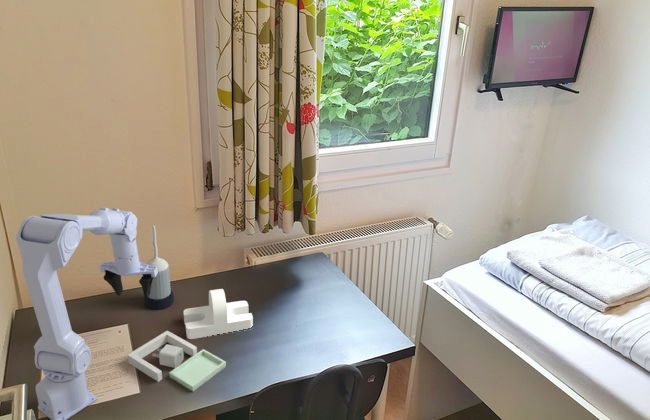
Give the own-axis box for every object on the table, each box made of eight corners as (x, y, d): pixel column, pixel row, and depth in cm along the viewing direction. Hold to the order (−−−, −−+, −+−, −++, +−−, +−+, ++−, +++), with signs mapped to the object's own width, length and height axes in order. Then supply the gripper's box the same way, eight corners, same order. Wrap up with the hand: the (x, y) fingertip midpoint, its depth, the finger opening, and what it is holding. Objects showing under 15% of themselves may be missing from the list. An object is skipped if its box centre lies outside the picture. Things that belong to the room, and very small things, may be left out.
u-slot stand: (183, 320, 146) (181, 287, 142) (246, 310, 152) (246, 278, 148) (187, 340, 138) (185, 306, 134) (253, 329, 144) (253, 296, 140)
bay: (158, 381, 123) (157, 373, 122) (128, 362, 128) (127, 354, 127) (197, 354, 132) (196, 347, 131) (167, 338, 138) (167, 330, 137)
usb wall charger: (175, 369, 127) (174, 356, 126) (150, 363, 129) (149, 350, 127) (183, 359, 131) (182, 346, 129) (159, 353, 132) (158, 340, 131)
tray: (193, 391, 121) (192, 386, 120) (169, 377, 125) (169, 372, 124) (226, 366, 129) (226, 361, 129) (203, 353, 133) (203, 349, 132)
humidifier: (178, 296, 156) (173, 221, 146) (167, 311, 149) (161, 234, 139) (152, 293, 157) (145, 218, 147) (140, 308, 149) (132, 231, 139)
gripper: (159, 246, 134) (165, 287, 141) (105, 241, 135) (114, 282, 142) (148, 262, 128) (155, 304, 135) (92, 256, 129) (102, 299, 136)
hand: (133, 294), depth 138 cm, fingers open, 7 cm apart
